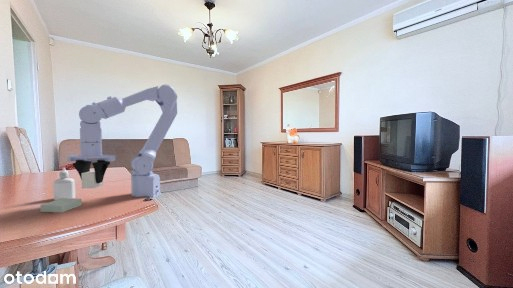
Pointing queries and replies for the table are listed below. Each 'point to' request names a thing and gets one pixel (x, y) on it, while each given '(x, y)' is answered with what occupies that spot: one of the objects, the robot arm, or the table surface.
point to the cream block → (90, 180)
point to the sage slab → (61, 205)
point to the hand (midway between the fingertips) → (92, 182)
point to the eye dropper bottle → (64, 186)
